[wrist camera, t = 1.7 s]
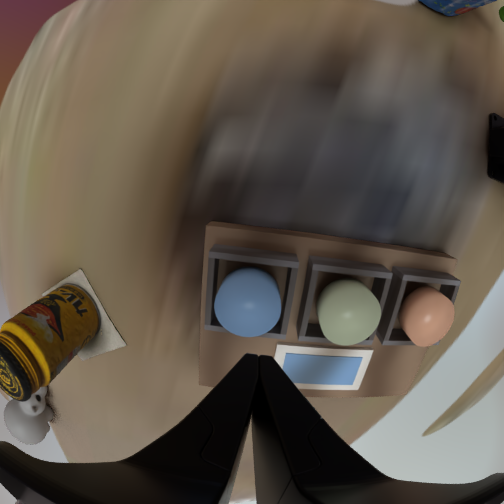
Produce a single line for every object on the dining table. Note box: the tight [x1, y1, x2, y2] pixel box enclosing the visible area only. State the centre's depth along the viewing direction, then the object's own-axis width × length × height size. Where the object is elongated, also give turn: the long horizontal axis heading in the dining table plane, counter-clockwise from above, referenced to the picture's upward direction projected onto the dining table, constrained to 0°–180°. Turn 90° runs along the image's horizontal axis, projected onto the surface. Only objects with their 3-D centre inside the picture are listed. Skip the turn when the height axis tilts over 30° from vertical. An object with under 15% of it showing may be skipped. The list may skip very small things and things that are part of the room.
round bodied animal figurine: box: [4, 386, 54, 445], centre depth 26 cm, size 7×12×8 cm, turn 144°
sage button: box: [316, 278, 381, 346], centre depth 18 cm, size 4×4×2 cm
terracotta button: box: [399, 286, 454, 347], centre depth 18 cm, size 4×4×2 cm
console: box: [199, 221, 461, 397], centre depth 21 cm, size 20×14×4 cm
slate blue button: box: [214, 267, 281, 337], centre depth 18 cm, size 4×4×2 cm
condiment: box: [0, 269, 126, 402], centre depth 19 cm, size 7×8×12 cm
